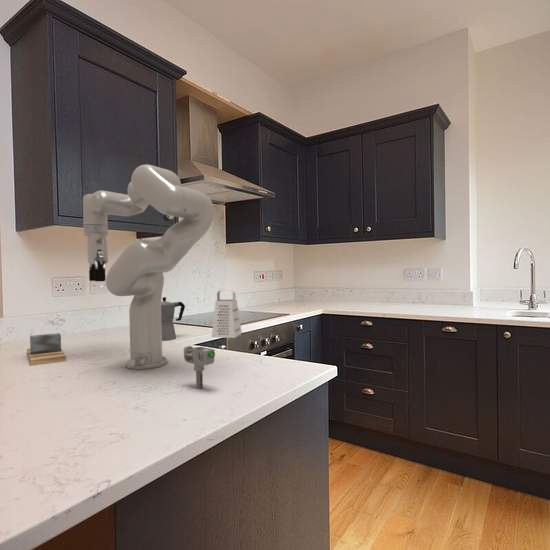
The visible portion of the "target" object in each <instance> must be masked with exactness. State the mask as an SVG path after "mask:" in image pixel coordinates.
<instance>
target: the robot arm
mask: <svg viewBox="0 0 550 550" xmlns="http://www.w3.org/2000/svg"><path fill="white" fill-rule="evenodd" d="M130 180H131V181H130V182H129V183H128V186H127V194H125V193H121V192H114V191H108V190H97V191H95V192H93V193H87V194H84V196H83V197H82V212H83V213H82V215H83V218H82V219H83V236H86V237H87V239H86V242H87V244H86V246H87V250H86V251H87V252H86V253H87V263H88V264H89V268H88V269H89V270H88V272H89V275H88V276H89V277H88V280H89V281H90V282H105V285H106V289H107V290H108V292H109V293H111V294H112V295H113V296H117V297H129V296H131V297H132V296H133V297H132V299H131V302H130V304H129V305H130V306H129V311H128V314H129V318H128V319H129V348H130V349H129V350H130V352H129V353H130V354H129V355H130V359H128V360H127V361H125V362H124V364H125V365H124V366H125V368H127V369H131V370H145V369H146V370H148V369H153V368H154V369H155V368H159V367H163V366H165V365H167V364H168V358H167V357H165V356H163V341H162V325H161V302H162V298H163V297H162V295H163V290H164V289H163V288H164V283H165V275H164V273H168V272H171V271H172V270H173V269H174V268H176V266H177V265H178V264H179V263H180V262H181V260H183V258H184V257H185V256H186V255H187V254H188V253H189V252H190V250H191V249H192V247H194V246H195V244H197V243H198V242H199V241H200V240H201V239H202V238H203V237H204V235H205V234H206V233H207V232H208V231H209V229H210V227H211V226H212V223H213V219H214V213H215V212H214V209H215V208H214V205H213V201H212V200H211V198H210V197H209V196H208V195H207V194H205V193H204V192H202V191H199V190H197V189H193V188H189V187H184V186H182V182H181V180H180V178H179V176H178V174H176V173H175V172H174V171H172V170H169V169H166V168H162V167H159V166H155V165H152V164H142V165H139V166H137V167H136V168H135V169H134V171H133V172H132V175H131V179H130ZM149 206H151V207H153V208H154V209H155V210H156V211H158V212H159V213H161V214H163V215H165V216H169V217H176V218H181V220H179V221H178V222H177V221H176V223H174V224H173V225H171V226H169V228H168V229H167V230H166V231H165V233H164V234H163V235H162V236H161V237H160V238H159V239H155V240H149V239H140V240H136V241H133V242H131V243H130V244H128V245H127V247H125V248H124V250H123V252H122V253H121V254H120V255H119V257H118V258H117V259H116V260H115V261H114V263H113V264H112V266H111V267H110V268H109V270H108V272H107V273H106V266H105V265H106V264H107V263H108V262H109V255H108V243H107V236H109V230H108V228H109V225H108V223H109V222H108V216H111V215H112V216H119V217H132V216H135V215H139V214H142V213H144V212H145V211H146V210H147V208H148V207H149Z"/></svg>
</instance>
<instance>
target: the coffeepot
mask: <svg viewBox="0 0 550 550" xmlns="http://www.w3.org/2000/svg"><path fill="white" fill-rule="evenodd" d="M161 300H162V301H161V325H162V342H165V341H167V342H168V341H173V340H175V339H176V338H177V335H176V330H175V329H176V328H175V325H174V319H175V308H176V307H180V308H179V309H180V310H179V313H178V318H176V319H175V320H176V322H178V321H181V320H182V318H183V315H184V312H185V308H186V305H185V304H184V303H183V302H182V301H176V302H170V301H167V297H166V296H163V297H162V298H161Z"/></svg>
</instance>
